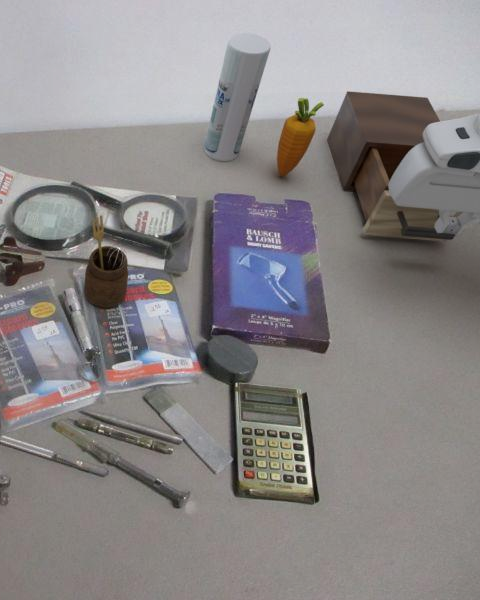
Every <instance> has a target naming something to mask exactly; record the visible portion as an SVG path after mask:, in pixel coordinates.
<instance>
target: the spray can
mask: <svg viewBox="0 0 480 600" xmlns="http://www.w3.org/2000/svg"><path fill="white" fill-rule="evenodd" d="M271 47H272V46H271V43H270V41H269V40H268V39H266V38H265V37H263V36H262V35H258V34H254V33H250V32H241V33H236V34H232V36H229V38H228V41H227V44H226V49H225V54H224V58H223V63H222V67H221V71H220V74H219V75H220V76H219V80H218V84H217V89H216V93H215V96H214V97H215V98H214V103H213V106H212V111H211V116H210V120H209V123H208V128H207V132H206V137H205V141H204V145H203V146H204V147H203V150H204V153H205V154H206V156H207V157H209V158H210V159H212V160H214V161H218V162H231V161H234V160H235V159H236V158H237V157H238V155H239V154H240V150H241V147H242V144H243V141H244V139H245V135H246V131H247V127H248V125H249V122H250V118H251V114H252V111H253V107H254V105H255V102H256V99H257V95H258V92H259V88H260V84H261V82H262V78H263V74H264V72H265V69H266V64H267V61H268V58H269V55H270V52H271Z"/></svg>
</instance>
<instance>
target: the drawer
mask: <svg viewBox="0 0 480 600" xmlns="http://www.w3.org/2000/svg"><path fill="white" fill-rule="evenodd" d="M409 151H410V150H403V149H391V148H378V147H369V149H368V151H367V153H366V155H365V157H364V159H363V161H362V163H361V165H360V167H359V169H358V172H357V174H356V176H355V178H354V180H353V182H354V185H355V188H356V191H355V192H356V194H357V197H358V200H359V203H360V207H361V209H362V212H363V215H364V218H365V224H364V227H363V228H362V231H363V234H364V235H366V236H376V237H377V236H379V237H388V238H389V237H390V238H401V239H412V240H413V239H414V240H426V241H437V242H447V240H448V241H452V240H454V239H455V237H456V234H445V233H437V232H436V229H435V223H436V221H437V220H438V218H439V217H440V216H439V210H438V209H427V208H416V207H404V206H397V205H396V204H395V203H394V201H393V199H392V197H391V195H390V192H389V187H388V185H389V181H390V179H391V177H392V176H393V174H394V172H395V171H396V169H397V167H398V166H399V164H400V163H401V161H402V160H403V159H404V157H405V156H406V155H407V153H408V152H409ZM462 213H464V212H460V211H457V212H456V213H455V215H453V216H450V215H449V217H458V216H459V215H461V214H462Z"/></svg>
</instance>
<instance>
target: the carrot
mask: <svg viewBox="0 0 480 600" xmlns="http://www.w3.org/2000/svg"><path fill="white" fill-rule="evenodd" d="M324 105H325V104H324V102H322V101H320V102H318V103H317V104H316V105H315V106H314V107H313V108H312V109H311V110H310V101H309V98H306V97H299V98H298V100H297V108H298V110H295V111H294V114H293V115H291V116H289V117H287V118H286V119H285V120H284V124H283V127H282V129H281V133H280V136H279V140H278V145H277V154H276V166H277V172H278V175H279V177H280V178H284V177H286V176H287V175H288V174H290V173H291V172H292V171H293V170H294V169H295V168H297V166H298V165H299V163H300V162H301V160H302V159H303V157H304V156H305V154H306V153H307V151H308V150H309V149H308V148H309V147H310V144H311V142H312V140H313V138H314V136H315V134H316V129H317V128H316V124H315V120H314V119H313V118H311V117H316V115H317V112H318V111H319V110H320V109H321V108H323V107H324Z"/></svg>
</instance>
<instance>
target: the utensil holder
mask: <svg viewBox="0 0 480 600" xmlns="http://www.w3.org/2000/svg"><path fill="white" fill-rule="evenodd" d="M91 222H92V223H91V225H92V235H93V239H94V240H97V246H98V247H97V248H95V249H93V251H92V252H91V254H90V255H89V258H88V262H87V263H88V264H87V265H86V269H85V273H84V289H83V290H84V293H85V294H84V295H85V297H86V299H87V300H88V301H89V302H90V303H91V304H92V305H94V306H96V307H99V308H102V309H103V308H104V309H105V308H106V309H108V308H109V309H110V308H113V307H116V306H118V305H119V304H121V303H122V301H123V300H124V299H125V298H126V293H127V289H128V282H129V269H128V257H127V254H126V253H127V252H126V250H125V249H126V248H125V246H123V247H122V246H121V244H119V245H118V246H115V244H113V245H112V246H110V245H104V246H102V238H103V237H104V236H105V230H104V221H103V215H102V214H99V216H96V217H95V218H94V217H92V219H91Z"/></svg>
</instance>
